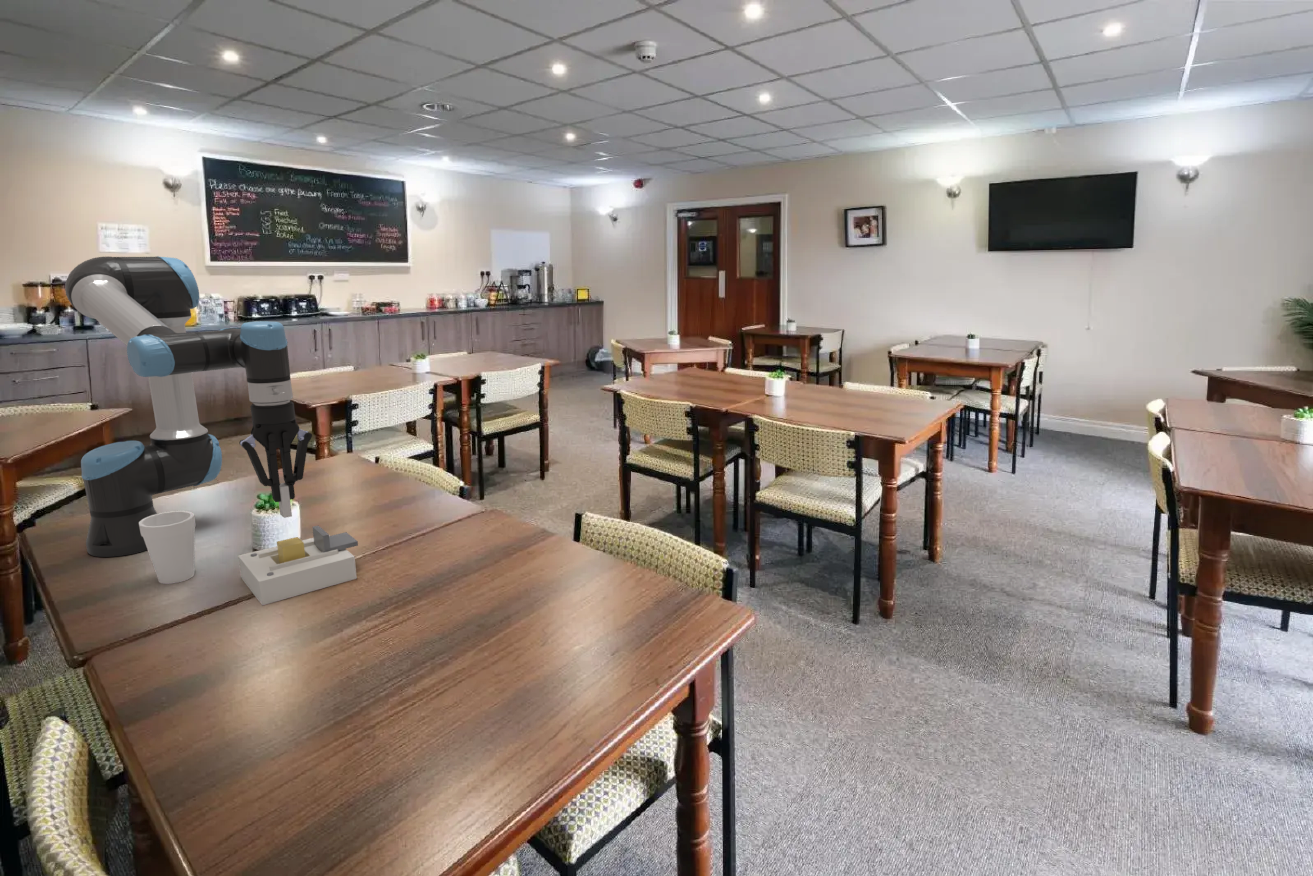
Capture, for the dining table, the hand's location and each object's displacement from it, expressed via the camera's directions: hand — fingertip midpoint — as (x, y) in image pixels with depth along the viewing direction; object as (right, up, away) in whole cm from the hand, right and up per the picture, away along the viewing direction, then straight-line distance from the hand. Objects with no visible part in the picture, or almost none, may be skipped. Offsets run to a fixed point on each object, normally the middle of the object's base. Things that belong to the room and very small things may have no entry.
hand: (286, 515), depth 144 cm
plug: (0, -13, +3) cm, 14 cm away
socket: (0, -14, +4) cm, 14 cm away
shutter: (+6, -7, +8) cm, 13 cm away
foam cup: (-25, -14, +4) cm, 29 cm away
